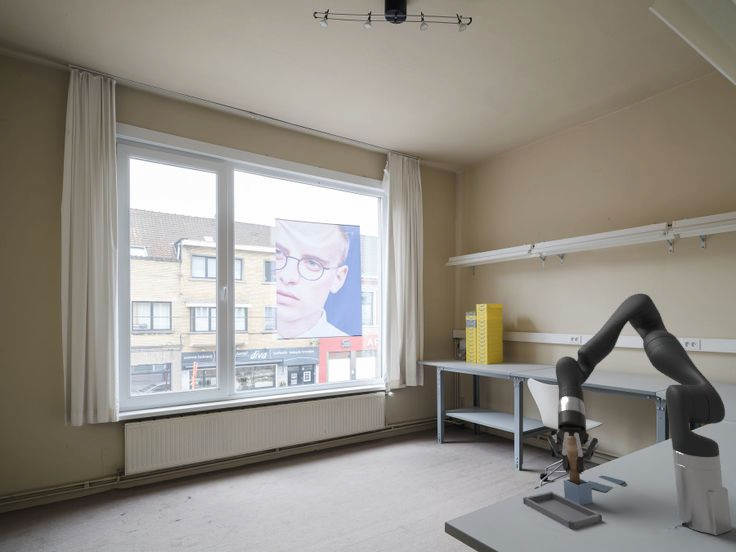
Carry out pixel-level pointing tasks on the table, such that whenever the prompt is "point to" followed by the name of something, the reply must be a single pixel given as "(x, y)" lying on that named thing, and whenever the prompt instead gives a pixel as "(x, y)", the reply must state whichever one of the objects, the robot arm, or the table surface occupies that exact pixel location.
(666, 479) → the table surface
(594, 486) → the smartphone
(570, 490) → the cup
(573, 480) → the dowel
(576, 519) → the tray
